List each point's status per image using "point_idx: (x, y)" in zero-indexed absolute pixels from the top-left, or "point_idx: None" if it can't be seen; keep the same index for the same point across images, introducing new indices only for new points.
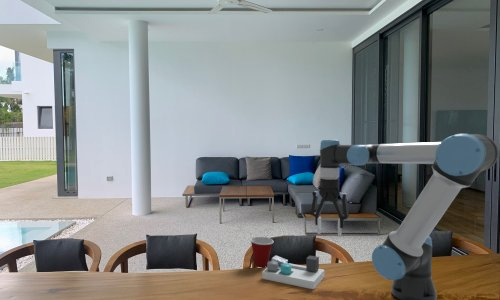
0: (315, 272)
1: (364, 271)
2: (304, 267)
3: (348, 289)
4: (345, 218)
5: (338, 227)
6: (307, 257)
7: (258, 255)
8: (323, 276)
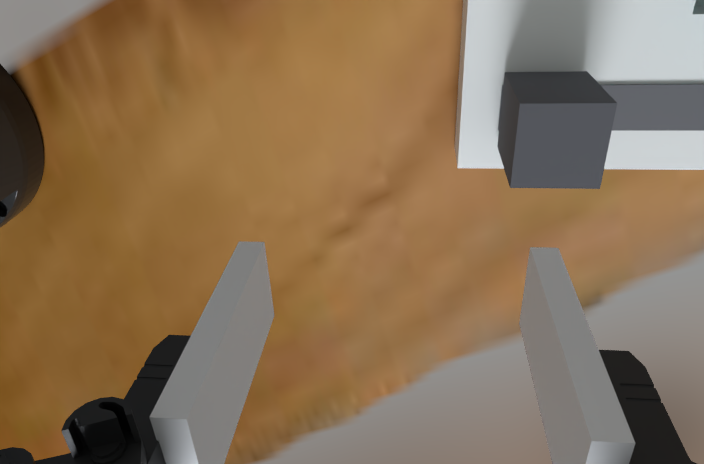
0: None
1: None
2: (615, 143)
3: (251, 19)
4: (17, 458)
5: (219, 323)
6: (610, 131)
7: None
8: (456, 128)
